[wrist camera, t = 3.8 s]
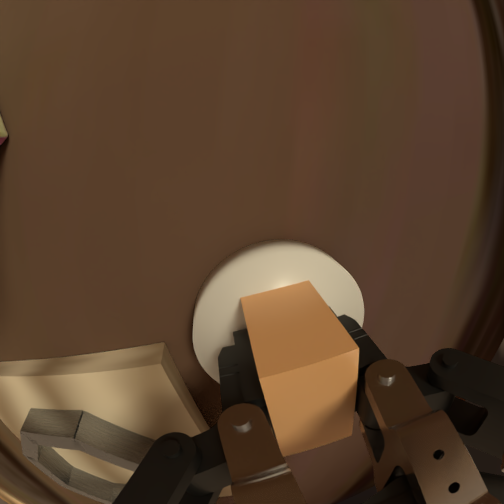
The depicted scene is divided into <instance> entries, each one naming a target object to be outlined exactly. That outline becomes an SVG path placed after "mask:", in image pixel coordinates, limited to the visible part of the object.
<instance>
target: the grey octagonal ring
mask: <svg viewBox="0 0 504 504" xmlns="http://www.w3.org/2000/svg"><path fill="white" fill-rule="evenodd" d="M20 436H21V444H22V451H23V455H24V456H25V457H26V458H27V459H28V460H29V461H30V462H32V463H33V464H34V465H35V466H36V467H38V468H39V469H40V470H41V471H42V472H44V473H45V474H46V475H47V476H49V477H50V478H51V479H53V480H54V481H55V482H57V483H58V484H59V485H61V486H62V487H65V488H67V489H69V490H71V491H74V492H76V493H78V494H81V495H83V496H86V497H88V498H91V499H94V500H96V501H99V502H102V503H105V504H112V503H113V502H114V501H115V499H116V498H117V496H118V495H119V493H120V492H121V491H122V489H123V488H124V486H125V485H126V484H121V483H113V482H110V481H107V480H105V479H102V478H99V477H97V476H94V475H92V474H89V473H87V472H85V471H82V470H80V469H78V468H76V467H73V466H72V465H71V464H70V463H68V462H67V461H66V460H65V459H64V458H63V457H61V456H60V455H59V454H58V453H57V452H56V451H55V450H54V449H53V448H52V447H55V448H62V449H70V450H79V451H82V452H84V453H87V454H89V455H91V456H94V457H96V458H98V459H101V460H103V461H106V462H108V463H111V464H114V465H116V466H119V467H122V468H125V469H128V470H131V471H134V472H135V470H136V469H137V467H138V466H139V464H140V463H141V461H142V460H143V458H144V457H145V455H146V454H147V452H148V451H149V449H150V448H151V446H152V445H153V443H154V442H155V441H156V440H154V439H151V438H148V437H145V436H143V435H140V434H137V433H135V432H132V431H129V430H127V429H124V428H122V427H119V426H117V425H115V424H112V423H110V422H108V421H105V420H103V419H101V418H99V417H97V416H95V415H93V414H90V413H88V412H86V411H83V410H57V409H38V408H30V410H29V413H28V415H27V417H26V419H25V421H24V423H23V426H22V428H21V430H20Z"/></svg>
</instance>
